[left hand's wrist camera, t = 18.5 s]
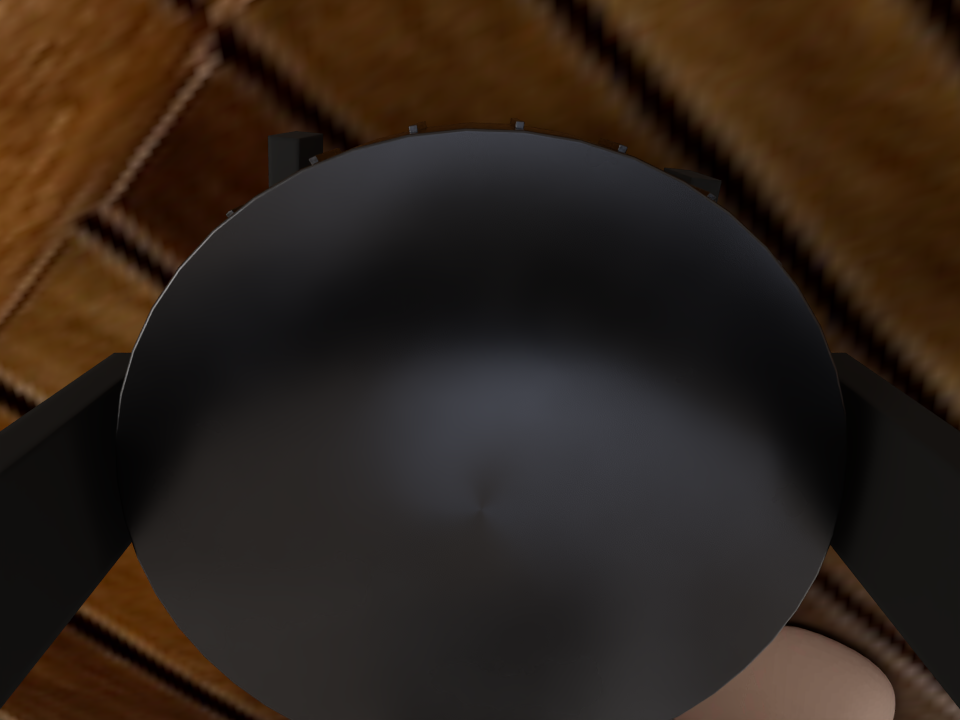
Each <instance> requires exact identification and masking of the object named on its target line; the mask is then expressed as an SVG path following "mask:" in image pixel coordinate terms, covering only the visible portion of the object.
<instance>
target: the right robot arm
mask: <svg viewBox="0 0 960 720" xmlns="http://www.w3.org/2000/svg"><path fill="white" fill-rule="evenodd" d="M322 153H323V134H319V133H309V132H299V131H295V132H289V133H283V134H277V135H271V136H268V157H269V188H270V187H271V186H273V185H275V184H276V183H278V182H280V181H282V180H283V179H285V178H287V177H288V176H290V175H292V174H293V173H295V172H297V171H299V170H300V169H302V168H305V167H307V166H310V165H311V163H310V161H309V158H311V157H314V156H316V155H319V154H322ZM664 171H665V172H667V173H669V174H671V175H673V176H675V177H677V178H679V179H681V180H684V181H685V182H687V183H688V184H690V185H693V186H695V187H698V188H700V189H703V190H705V191H708V192H710V193H712V194H713V195H714V196H716V198H715V199H714V200H713V201H715V202H716V203H717V200H718V195H719V190H720V186H721V180H718V179H715V178H712V177H709V176H706V175H703V174H700V173H697V172H694V171H691V170H682V169H672V168H664Z"/></svg>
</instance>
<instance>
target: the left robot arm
mask: <svg viewBox="0 0 960 720" xmlns="http://www.w3.org/2000/svg"><path fill="white" fill-rule="evenodd" d="M831 355H832V357H833V360H834V363H835V365H836V368H837V372H838V377H839V382H840V387H841V392H842V397H843V402H844V406H845V411H846V427H847V449H848V459H847V469H846V478H845V487H844V497H843V501H842V505H841V509H840V513H839V517H838V520H837V524H836V528H835V532H834V536H833V539H832V541H831V544H830V545H831V546H832V547H833V549H834V550H835V551H836V553H837V554H838V555H839V556H840V558H841V559H842V560H843V561H844V563H845V564H846V565H847V566H848V568H849V569H850V570H851V572H852V573H853V574H854V575H855V577H856V578H857V579H858V580H859V582H860V583H861V584H862V586H863V587H864V588H865V589H866V591H867V592H868V593H869V594H870V596H871V597H872V598H873V599H874V601H875V602H876V603H877V605H878V606H879V607H880V608H881V610H882V611H883V612H884V613H885V615H886V616H887V617H888V618H889V620H890V621H891V622H892V624H893V625H894V626H895V627H896V629H897V630H898V631H899V632H900V634H901V635H902V636H903V637H904V639H905V640H906V641H907V643H908V644H909V645H910V646H911V648H912V649H913V650H914V651H915V653H916V654H917V655H918V656H919V658H920V659H921V660H922V662H923V663H924V664H925V665H926V667H927V668H928V669H929V670H930V672H931V673H932V674H933V675H934V677H935V678H936V679H937V681H938V682H939V683H940V684H941V686H942V687H943V688H944V689H945V691H946V692H947V693H948V694H949V696H950V697H951V698H952V700H953V701H954V702H955V703H956V705H957V706H958V707H959V708H960V431H958V430H957V429H955V428H954V427H952V426H951V425H950V424H948V423H947V422H945V421H944V420H942V419H941V418H939V417H938V416H937V415H935V414H934V413H932V412H931V411H929V410H928V409H926V408H925V407H923V406H922V405H921V404H919V403H918V402H916V401H915V400H913V399H912V398H910V397H909V396H907V395H906V394H905V393H903V392H902V391H900V390H899V389H897V388H896V387H894V386H893V385H892V384H890V383H889V382H887V381H886V380H884V379H883V378H881V377H880V376H878V375H877V374H876V373H874V372H873V371H871V370H870V369H868V368H867V367H865V366H864V365H863V364H861V363H860V362H858V361H857V360H855V359H854V358H852V357H851V356H849V355H848V354H847V353H831ZM130 357H131V353H113V354H112V355H111V356H109V357H108V358H106V359H105V360H103V361H102V362H100V363H99V364H97V365H96V366H95V367H93V368H92V369H90V370H89V371H87V372H86V373H84V374H83V375H82V376H80V377H79V378H77V379H76V380H74V381H73V382H71V383H70V384H68V385H67V386H66V387H64V388H63V389H61V390H60V391H58V392H57V393H55V394H54V395H53V396H51V397H50V398H48V399H47V400H45V401H44V402H42V403H41V404H39V405H38V406H37V407H35V408H34V409H32V410H31V411H29V412H28V413H26V414H25V415H23V416H22V417H21V418H19V419H18V420H16V421H15V422H13V423H12V424H10V425H9V426H8V427H6V428H5V429H3V430H2V431H0V708H1V707H2V706H3V705H4V703H5V702H6V701H7V700H8V698H9V697H10V696H11V694H12V693H13V692H14V691H15V689H16V688H17V687H18V686H19V684H20V683H21V682H22V681H23V679H24V678H25V677H26V675H27V674H28V673H29V672H30V670H31V669H32V668H33V667H34V665H35V664H36V663H37V662H38V660H39V659H40V658H41V656H42V655H43V654H44V653H45V651H46V650H47V649H48V648H49V646H50V645H51V644H52V643H53V641H54V640H55V639H56V637H57V636H58V635H59V634H60V632H61V631H62V630H63V629H64V627H65V626H66V625H67V624H68V622H69V621H70V620H71V618H72V617H73V616H74V615H75V613H76V612H77V611H78V610H79V608H80V607H81V606H82V605H83V603H84V602H85V601H86V599H87V598H88V597H89V596H90V594H91V593H92V592H93V591H94V589H95V588H96V587H97V586H98V584H99V583H100V582H101V580H102V579H103V578H104V577H105V575H106V574H107V573H108V572H109V570H110V569H111V568H112V566H113V565H114V564H115V563H116V561H117V560H118V559H119V558H120V556H121V555H122V554H123V553H124V551H125V550H126V549H127V547H128V546H129V545H130V544H131V542H132V541H131V538H130V535H129V532H128V529H127V526H126V523H125V520H124V515H123V510H122V505H121V500H120V494H119V489H118V484H117V475H116V447H115V434H116V425H117V417H118V408H119V400H120V392H121V389H122V385H123V382H124V378H125V375H126V371H127V367H128V364H129V360H130Z"/></svg>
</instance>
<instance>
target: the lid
mask: <svg viewBox="0 0 960 720" xmlns="http://www.w3.org/2000/svg"><path fill="white" fill-rule="evenodd" d="M626 150H627V147H626V146H624V145H621V144H618V143H615V142H611V141H608V140H605V139H602V138H600V140H599V143H598V144H597V143H594V142H591V141H588V140H585V139H581V138H578V137H575V136H572V135H569V134H566V133H563V132H558V131H552V130H546V129H540V128H534V127H529V126H524V122H523V121H521V120H519V119H515V118H511V123H510V124H492V123H462V124H452V125H443V126H434V127H427V125H426V122H419V123H416V124H414V125H411V126H409V131H407V132H403V133H399V134H395V135H391V136H387V137H383V138H379V139H376V140H373V141H370V142H368V143H365V144H362V145H360V146H357V147H354V148H352V149H349V150H347V151H344V152H342V153H341V151H340V149H339V148H337V149H334V150H331V151H328V152H325V153H322V154H319V155H316V156H314V157H311V158H309V161H310V163H311V165H310V166H307V167H305V168H302V169H300V170H299V171H297V172H295V173H293V174H292V175H290V176H288V177H287V178H285V179H283V180H282V181H280V182H278V183H276V184H275V185H273V186H271V187H270V188H268V189H266V190H264V191H263V192H261V193H259V194H258V195H256V196H254V197H253V198H252V199H250V200H249V201H248V202H247V203H245V204H244V205H241V206H239V207H237V208H234V209H232V210H230V211H229V212H228V213H227V214H226V216H227V217H228V218H227V219H226V220H224V221H223V222H222V223H221V224H219V225H218V226H217V227H216V228H214V229H213V230H212V231H211V232H210V233H209V235H208V236H207V237H206V238H205V239H204V240H203V241H202V242H201V243H200V244H199V245H198V247H197V248H196V249H195V250H194V251H193V252H192V253H191V254H190V255H189V256H188V257H187V259H186V260H185V261H184V262H183V263H182V264H181V265H180V266H179V267H178V269H177V270H176V272H175V273H174V275H173V276H172V278H171V279H170V281H169V282H168V284H167V285H166V287H165V288H164V290H163V291H162V293H161V294H160V296H159V297H158V299H157V300H156V302H155V303H154V305H153V306H152V308H151V311H150V313H149V315H148V317H147V319H146V321H145V324H144V326H143V328H142V330H141V332H140V334H139V337H138V339H137V341H136V343H135V345H134V347H133V350H132V353H131V357H130V360H129V364H128V367H127V371H126V375H125V378H124V382H123V385H122V389H121V392H120V400H119V408H118V417H117V425H116V434H115V447H116V475H117V484H118V489H119V494H120V500H121V505H122V510H123V515H124V520H125V523H126V526H127V529H128V532H129V535H130V538H131V541H132V544H133V547H134V549H135V552H136V555H137V558H138V560H139V562H140V564H141V566H142V568H143V570H144V572H145V574H146V576H147V578H148V580H149V582H150V584H151V586H152V588H153V590H154V592H155V594H156V595H157V597H158V598H159V600H160V601H161V603H162V604H163V606H164V607H165V609H166V610H167V611H168V613H169V614H170V616H171V617H172V619H173V620H174V622H175V623H176V625H177V626H178V627H179V629H180V630H181V631H182V632H183V633H184V634H185V635H186V636H187V638H188V639H189V640H190V641H191V642H192V643H193V644H194V646H195V647H196V648H197V649H198V650H199V651H200V652H201V653H202V655H203V656H204V657H205V658H206V659H207V660H209V661H210V662H211V663H212V664H213V665H214V666H215V667H216V668H218V669H219V670H220V671H221V672H222V673H223V674H224V675H225V676H227V677H228V678H229V679H230V680H231V681H232V682H233V683H234V684H236V685H237V686H239V687H240V688H242V689H243V690H244V691H246V692H247V693H249V694H250V695H251V696H253V697H254V698H256V699H257V700H258V701H260V702H261V703H263V704H264V705H265V706H267V707H269V708H271V709H272V710H274V711H276V712H278V713H280V714H281V715H283V716H285V717H287V718H289V719H290V720H672V719H674V718H676V717H678V716H680V715H682V714H684V713H685V712H687V711H688V710H690V709H691V708H693V707H695V706H696V705H698V704H699V703H701V702H702V701H704V700H706V699H707V698H709V697H710V696H712V695H713V694H715V693H716V692H717V691H718V690H720V689H721V688H722V687H723V686H725V685H726V684H727V683H728V682H730V681H731V680H732V679H733V678H735V677H736V676H737V675H738V674H740V673H741V672H742V671H743V670H745V669H746V668H747V667H748V666H749V665H750V664H751V663H752V662H753V661H754V660H755V659H756V658H757V657H758V656H759V655H760V654H761V652H762V651H763V650H764V649H765V648H766V647H767V646H768V645H769V644H770V643H771V642H772V641H773V640H774V639H775V638H776V636H777V635H778V634H779V632H780V631H781V630H782V629H783V627H784V626H785V625H786V623H787V622H788V621H789V619H790V618H791V617H792V616H793V614H794V613H795V612H796V610H797V609H798V607H799V606H800V604H801V602H802V600H803V599H804V597H805V595H806V594H807V592H808V590H809V589H810V587H811V585H812V583H813V582H814V580H815V578H816V577H817V575H818V572H819V570H820V568H821V565H822V563H823V560H824V558H825V556H826V553H827V551H828V548H829V546H830V544H831V541H832V539H833V536H834V532H835V528H836V524H837V520H838V517H839V513H840V509H841V505H842V501H843V497H844V487H845V478H846V469H847V459H848V449H847V427H846V411H845V406H844V402H843V397H842V392H841V387H840V382H839V377H838V372H837V368H836V365H835V363H834V360H833V357H832V355H831V352H830V349H829V347H828V344H827V341H826V339H825V336H824V333H823V331H822V328H821V326H820V324H819V322H818V320H817V319H816V317H815V315H814V313H813V312H812V310H811V308H810V306H809V305H808V303H807V301H806V299H805V297H804V296H803V294H802V292H801V290H800V289H799V287H798V285H797V284H796V283H795V281H794V280H793V279H792V278H791V276H790V275H789V274H788V272H787V271H786V270H785V269H784V267H783V266H782V264H781V262H780V261H779V260H778V259H776V257H775V256H774V255H773V254H772V252H771V251H770V250H769V249H768V247H767V246H766V245H765V244H764V243H763V242H762V241H760V240H759V239H758V238H757V237H756V236H755V235H754V234H753V233H752V232H751V231H750V230H749V229H748V228H746V227H745V226H744V225H743V224H742V223H741V222H740V221H739V220H738V219H737V218H736V217H735V216H733V215H732V214H731V213H730V212H729V211H728V210H726V209H725V208H723V207H722V206H721V205H719V204H718V203H716V202H715V201H713V200H714V199H715V198H716V196H714V195H713V194H712V193H710V192H708V191H705V190H703V189H700V188H698V187H695V186H693V185H690V184H688V183H687V182H685V181H684V180H681V179H679V178H677V177H675V176H673V175H671V174H669V173H667V172H665V171H663V170H661V169H659V168H657V167H655V166H653V165H651V164H649V163H647V162H644V161H642V160H640V159H638V158H636V157H634V156H631V155H628V154H626Z"/></svg>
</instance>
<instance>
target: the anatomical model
mask: <svg viewBox="0 0 960 720" xmlns="http://www.w3.org/2000/svg"><path fill="white" fill-rule="evenodd" d="M894 712H895V695H894V691H893V687H892V685H891V683H890V681H889V680H888V678H887V677H886V675H885V674H884V673H883V672H882V671H881V670H880V669H879V668H878V667H877V666H876V665H875V664H873V663H872V662H871V661H870V660H869V659H867V658H866V657H864V656H863V655H861V654H859V653H858V652H856V651H855V650H853V649H851V648H849V647H847V646H845V645H843V644H841V643H839V642H837V641H835V640H832V639H830V638H828V637H825V636H823V635H821V634H818V633H815V632H812V631H809V630H806V629H802V628H799V627H793V626H784V627H783V629H782V630H781V631H780V632H779V634H778V635H777V636H776V638H775V639H774V640H773V641H772V642H771V643H770V644H769V645H768V646H767V647H766V648H765V649H764V650H763V651H762V652H761V654H760V655H759V656H758V657H757V658H756V659H755V660H754V661H753V662H752V663H751V664H750V665H749V666H748V667H747V668H746V669H745V670H743V671H742V672H741V673H740V674H738V675H737V676H736V677H735V678H733V679H732V680H731V681H730V682H728V683H727V684H726V685H725V686H723V687H722V688H721V689H720V690H718V691H717V692H716V693H715V694H713V695H712V696H710V697H709V698H707V699H706V700H704V701H702V702H701V703H699V704H698V705H696V706H695V707H693V708H691V709H690V710H688V711H687V712H685V713H684V714H682V715H680V716H678V717H676V718H674V720H893V717H894Z"/></svg>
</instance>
